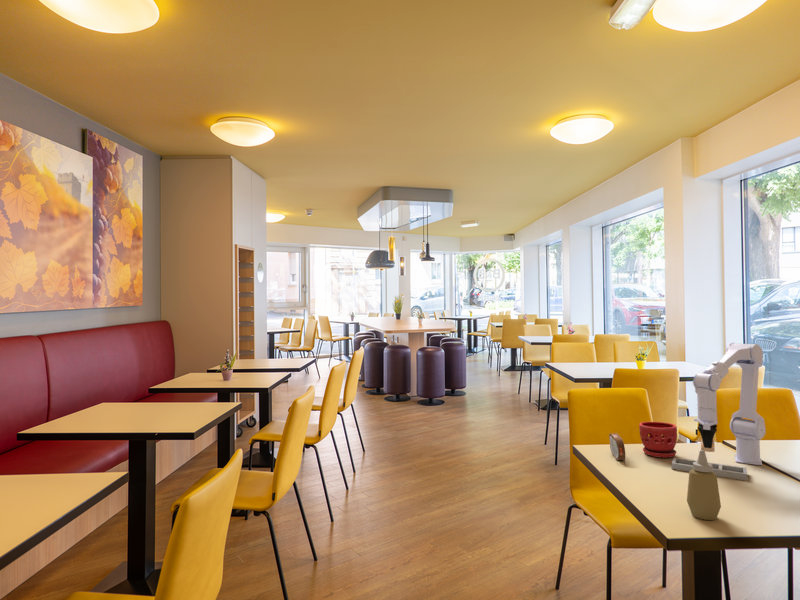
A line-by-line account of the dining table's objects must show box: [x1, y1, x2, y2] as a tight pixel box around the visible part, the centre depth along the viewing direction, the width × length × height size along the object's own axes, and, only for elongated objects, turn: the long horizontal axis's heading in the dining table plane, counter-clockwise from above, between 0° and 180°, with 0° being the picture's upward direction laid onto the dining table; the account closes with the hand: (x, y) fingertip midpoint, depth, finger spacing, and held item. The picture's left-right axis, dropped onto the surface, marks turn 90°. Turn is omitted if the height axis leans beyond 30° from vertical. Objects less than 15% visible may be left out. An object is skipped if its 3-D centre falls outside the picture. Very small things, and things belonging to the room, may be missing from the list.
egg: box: [700, 439, 716, 453], centre depth 170 cm, size 4×4×4 cm
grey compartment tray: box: [671, 457, 748, 482], centre depth 170 cm, size 8×22×2 cm, turn 56°
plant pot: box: [638, 421, 678, 459], centre depth 190 cm, size 13×13×12 cm
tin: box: [608, 432, 626, 461], centre depth 187 cm, size 15×3×8 cm, turn 168°
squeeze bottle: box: [686, 449, 722, 521], centre depth 133 cm, size 8×8×18 cm
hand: (707, 446), depth 170 cm, fingers closed on egg, 4 cm apart
